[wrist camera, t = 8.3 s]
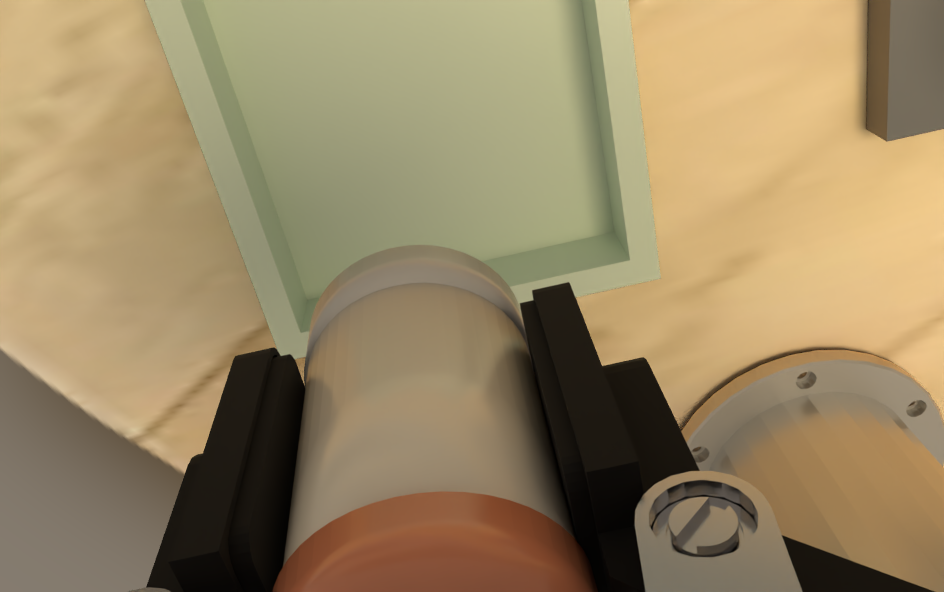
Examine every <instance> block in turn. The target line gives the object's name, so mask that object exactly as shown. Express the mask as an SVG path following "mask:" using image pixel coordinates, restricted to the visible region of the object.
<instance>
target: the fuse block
mask: <svg viewBox="0 0 944 592" xmlns="http://www.w3.org/2000/svg"><path fill="white" fill-rule="evenodd" d="M941 129H944V0H869V4H868V72H867V130H869V131H870V132H872V133H874V134H875V135H877V136H879V137H880V138H882V139H884V140H885V141H892V140H896V139H901V138H905V137H909V136H914V135H918V134H923V133H927V132H932V131H936V130H941Z"/></svg>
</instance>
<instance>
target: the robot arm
mask: <svg viewBox="0 0 944 592" xmlns="http://www.w3.org/2000/svg"><path fill="white" fill-rule="evenodd" d="M532 295H533V300H532V301H527V302H523V303H520V308H521V313H522V318H523V323H524V327H525V332H526V337H527V342H528V346H529V351H530V356H531V361H532V365H533V370H534V375H535V379H536V383H537V387H538V391H539V395H540V398H541V402H542V406H543V410H544V414H545V418H546V422H547V426H548V430H549V433H550V437H551V441H552V445H553V449H554V453H555V457H556V461H557V465H558V469H559V473H560V476H561V480H562V484H563V488H564V492H565V496H566V500H567V504H568V508H569V512H570V516H571V520H572V524H573V528H574V532H575V536H576V540H577V542H578V544H579V545H580V546H581V547H582V549H583V550H584V552H585V554H586V556H587V558H588V560H589V562H590V564H591V567H592V571H593V574H594V577H595V581H596V585H597V589H598V592H944V468H943V466H944V421H943V418H942V415H941V412H940V409H939V408H938V406H937V405H936V403H935V402H934V400H933V399H932V397H931V396H930V394H929V393H928V392H927V391H926V390H925V389H924V388H923V387H922V386H921V385H920V384H919V383H918V382H917V381H916V380H915V379H914V378H913V377H912V376H911V375H910V374H909V373H907V372H906V371H904V370H903V369H901V368H900V367H898V366H897V365H895V364H894V363H893V362H890V361H887V360H885V359H882V358H879V357H877V356H874V355H872V354H867V353H861V352H855V351H849V350H816V351H810V352H805V353H799V354H793V355H789V356H786V357H783V358H780V359H777V360H774V361H771V362H768V363H765V364H762V365H760V366H758V367H756V368H754V369H752V370H750V371H748V372H746V373H744V374H743V375H741V376H739V377H737V378H735V379H734V380H733V381H731V382H730V383H728V384H727V385H726V386H724V387H723V388H721V389H720V390H719V391H717V392H716V393H714V394H713V395H712V396H711V397H710V398H709V399H708V400H707V401H706V402H705V403H704V404H703V405H702V406H701V407H700V408H699V409H698V410H697V411H696V412H695V413H694V414H693V416H692V417H691V419H690V420H689V421H688V423H687V424H686V425H685V427H684V428H683V430H682V431H681V430H680V428H679V426H678V424H677V422H676V420H675V418H674V416H673V413H672V411H671V409H670V407H669V405H668V403H667V401H666V399H665V397H664V395H663V393H662V391H661V388H660V386H659V384H658V382H657V380H656V378H655V376H654V374H653V372H652V370H651V368H650V365H649V364H648V362H647V360H646V359H645V358H638V359H633V360H629V361H624V362H620V363H615V364H610V365H606V366H602V365H601V362H600V360H599V357H598V355H597V352H596V350H595V347H594V344H593V342H592V339H591V337H590V334H589V331H588V329H587V326H586V324H585V321H584V318H583V316H582V313H581V311H580V308H579V306H578V303H577V300H576V298H575V295H574V293H573V290H572V287H571V285H570V283H569V282H567V283H562V284H558V285H553V286H549V287H544V288H540V289H535V290H532ZM304 396H305V386H304V383H303V381H302V378H301V375H300V372H299V370H298V367H297V364H296V362H295V360H294V358H293V356H292V355H290V354H288V355H283V356H281V355H280V354H279V352H278V351H277V349H275V348H269V349H265V350H260V351H256V352H251V353H247V354H242V355H238V356H235V358H234V360H233V363H232V366H231V369H230V372H229V375H228V378H227V381H226V384H225V387H224V391H223V394H222V397H221V400H220V403H219V406H218V409H217V412H216V415H215V418H214V421H213V424H212V428H211V431H210V434H209V437H208V440H207V443H206V446H205V449H204V452H203V454H198V455H196V456H194V457H193V458H192V459H191V461H190V463H189V464H188V467H187V470H186V473H185V476H184V479H183V482H182V484H181V487H180V490H179V493H178V496H177V499H176V502H175V505H174V508H173V511H172V514H171V517H170V520H169V522H168V525H167V528H166V531H165V534H164V537H163V540H162V543H161V546H160V549H159V552H158V555H157V557H156V561H155V563H154V566H153V569H152V572H151V575H150V578H149V582H148V584H147V587H146V588H142V589H137V590H132V591H129V592H272V591H273V587H274V584H275V582H276V579H277V577H278V575H279V572H280V571H281V569H282V568H283V561H284V553H285V546H286V538H287V530H288V522H289V514H290V506H291V498H292V490H293V483H294V475H295V467H296V459H297V451H298V443H299V435H300V428H301V420H302V412H303V404H304Z"/></svg>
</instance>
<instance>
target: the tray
mask: <svg viewBox="0 0 944 592" xmlns="http://www.w3.org/2000/svg"><path fill="white" fill-rule="evenodd" d="M145 3H146V5H147V8H148V11H149V13H150V16H151V19H152V21H153V24H154V26H155V29H156V32H157V34H158V37H159V40H160V42H161V45H162V47H163V50H164V53H165V55H166V58H167V61H168V63H169V66H170V68H171V71H172V74H173V76H174V79H175V82H176V84H177V87H178V90H179V92H180V95H181V97H182V100H183V103H184V105H185V108H186V111H187V113H188V116H189V118H190V121H191V124H192V126H193V129H194V132H195V134H196V137H197V139H198V142H199V145H200V147H201V150H202V153H203V155H204V158H205V161H206V163H207V166H208V168H209V171H210V174H211V176H212V179H213V182H214V184H215V187H216V189H217V192H218V195H219V197H220V200H221V203H222V205H223V208H224V210H225V213H226V216H227V218H228V221H229V224H230V226H231V229H232V232H233V234H234V237H235V239H236V242H237V245H238V247H239V250H240V253H241V255H242V258H243V260H244V263H245V266H246V268H247V271H248V274H249V276H250V279H251V281H252V284H253V287H254V289H255V292H256V295H257V297H258V300H259V303H260V305H261V308H262V310H263V313H264V316H265V318H266V321H267V324H268V326H269V329H270V331H271V334H272V337H273V339H274V342H275V345H276V347H277V350H278V352H279V354H280V355H281V356H283V355H288V354H290V355H292V356H293V358H294V359H298V358H302V357H306V352H307V345H308V337H309V330H310V324H311V319H312V315H313V312H314V310H315V307H316V304H317V302H318V301H319V299H320V297H321V295H322V293H323V292H324V291H325V289H326V288H327V287H328V285H329V284H330V283H331V282H332V281H333V280H334V279H335V278H336V277H337V276H338V275H339V274H340V273H341V272H342V271H344V270H345V269H346V268H348V267H349V266H350V265H352V264H354V263H355V262H357V261H359V260H360V259H362V258H364V257H366V256H369V255H371V254H374V253H376V252H379V251H382V250H386V249H389V248H394V247H400V246H406V245H432V246H440V247H445V248H450V249H454V250H457V251H460V252H463V253H466V254H468V255H470V256H472V257H474V258H477V259H478V260H480V261H481V262H483V263H485V264H486V265H488V266H489V267H490V268H492V269H493V270H494V271H495V272H496V273H498V274H499V275H500V276H501V277H502V278H503V280H504V281H505V282H506V283H507V284H508V286H509V287H510V288H511V290H512V291H513V293H514V295H515V297H516V299H517V301H518V303H519V305H520V303H523V302H527V301H532V300H533V295H532V290H535V289H540V288H544V287H549V286H553V285H558V284H562V283H567V282H569V283H570V285H571V287H572V290H573V293H574V295H575V297H580V296H584V295H589V294H593V293H598V292H603V291H607V290H612V289H616V288H621V287H625V286H630V285H634V284H639V283H643V282H648V281H653V280H657V279H661V276H660V267H659V259H658V250H657V241H656V233H655V224H654V216H653V207H652V198H651V190H650V181H649V173H648V164H647V155H646V147H645V138H644V130H643V121H642V113H641V104H640V95H639V87H638V78H637V70H636V61H635V52H634V44H633V35H632V27H631V18H630V9H629V1H628V0H145ZM520 309H521V308H520Z"/></svg>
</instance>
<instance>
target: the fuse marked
mask: <svg viewBox="0 0 944 592" xmlns="http://www.w3.org/2000/svg"><path fill="white" fill-rule="evenodd" d="M304 382H305V396H304V404H303V412H302V420H301V428H300V435H299V443H298V451H297V459H296V467H295V475H294V483H293V490H292V498H291V506H290V514H289V522H288V530H287V538H286V546H285V553H284V561H283V568H282V569H281V571H280V572H279V575H278V577H277V579H276V582H275V584H274V587H273V591H272V592H598V589H597V585H596V581H595V577H594V574H593V571H592V567H591V564H590V562H589V560H588V558H587V556H586V554H585V552H584V550H583V549H582V547H581V546H580V545H579V544H578V542H577V540H576V536H575V532H574V528H573V524H572V520H571V516H570V512H569V508H568V504H567V500H566V496H565V492H564V488H563V484H562V480H561V476H560V473H559V469H558V465H557V461H556V457H555V453H554V449H553V445H552V441H551V437H550V433H549V430H548V426H547V422H546V418H545V414H544V410H543V406H542V402H541V398H540V395H539V391H538V387H537V383H536V379H535V375H534V370H533V365H532V361H531V356H530V351H529V346H528V342H527V337H526V332H525V327H524V323H523V318H522V313H521V309H520V305H519V303H518V301H517V299H516V297H515V295H514V293H513V291H512V290H511V288H510V287H509V286H508V284H507V283H506V282H505V281H504V280H503V278H502V277H501V276H500V275H499V274H498V273H496V272H495V271H494V270H493V269H492V268H490V267H489V266H488V265H486V264H485V263H483V262H481V261H480V260H478V259H477V258H474V257H472V256H470V255H468V254H466V253H463V252H460V251H457V250H454V249H450V248H445V247H440V246H432V245H406V246H400V247H394V248H389V249H386V250H382V251H379V252H376V253H374V254H371V255H369V256H366V257H364V258H362V259H360V260H359V261H357V262H355V263H354V264H352V265H350V266H349V267H348V268H346V269H345V270H344V271H342V272H341V273H340V274H339V275H338V276H337V277H336V278H335V279H334V280H333V281H332V282H331V283H330V284H329V285H328V287H327V288H326V289H325V291H324V292H323V293H322V295H321V297H320V299H319V301H318V302H317V304H316V307H315V310H314V312H313V315H312V319H311V324H310V330H309V337H308V345H307V352H306V360H305V368H304Z"/></svg>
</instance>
